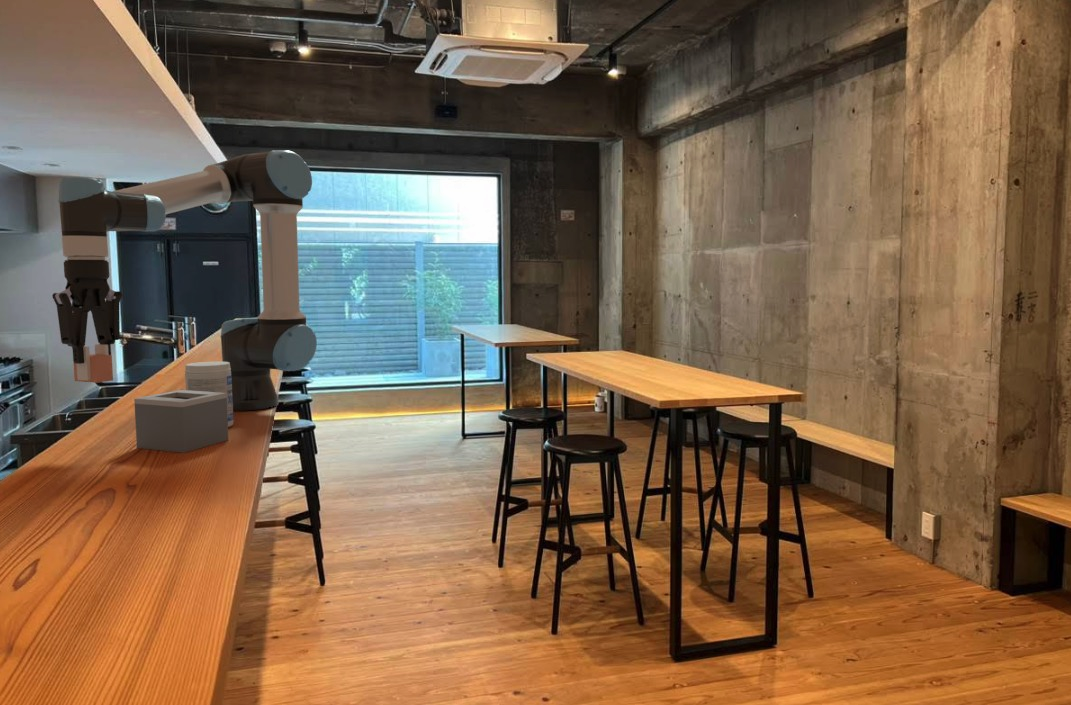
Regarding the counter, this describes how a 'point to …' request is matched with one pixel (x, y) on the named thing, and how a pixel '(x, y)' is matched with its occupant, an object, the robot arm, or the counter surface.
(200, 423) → the box
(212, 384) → the supplement tub
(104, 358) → the block
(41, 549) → the counter surface
